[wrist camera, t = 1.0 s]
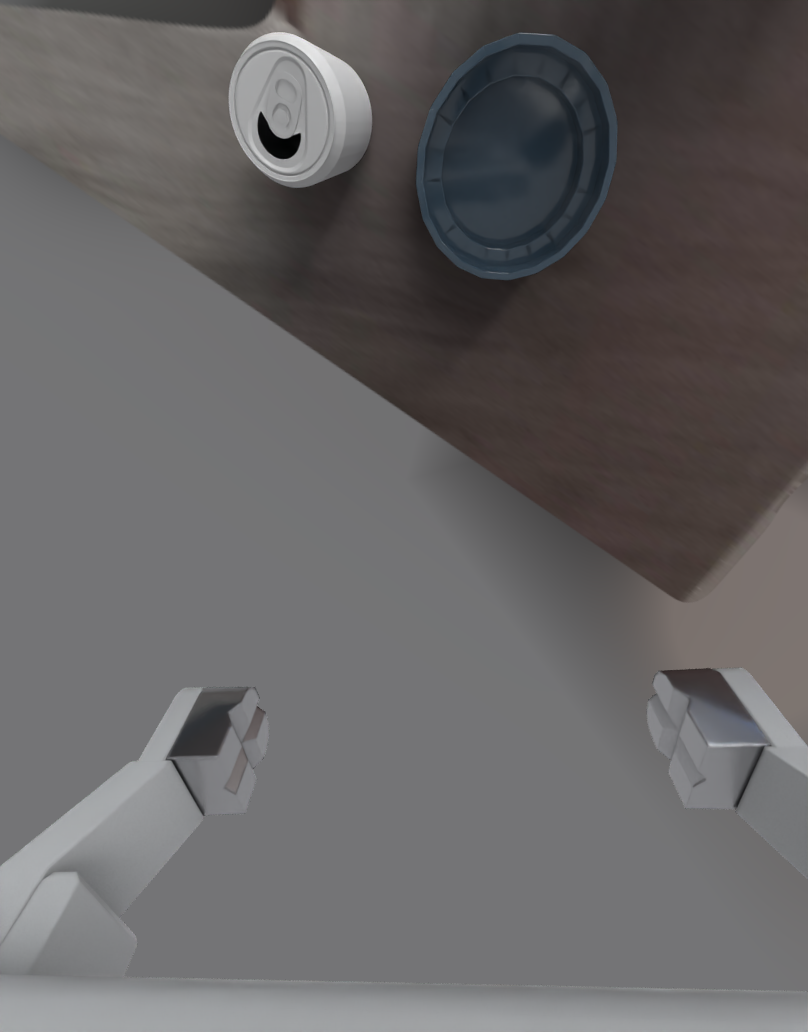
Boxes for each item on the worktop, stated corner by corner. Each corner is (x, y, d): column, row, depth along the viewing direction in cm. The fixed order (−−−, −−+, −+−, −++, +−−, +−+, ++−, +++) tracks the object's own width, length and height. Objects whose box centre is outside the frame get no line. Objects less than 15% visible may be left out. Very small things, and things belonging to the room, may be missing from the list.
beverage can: (277, 147, 34) (212, 156, 25) (299, 33, 30) (231, -4, 21) (356, 189, 36) (320, 212, 27) (387, 86, 32) (358, 72, 23)
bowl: (561, -16, 28) (575, -35, 24) (624, 201, 35) (641, 210, 31) (387, 134, 33) (379, 135, 30) (470, 296, 40) (471, 313, 37)
